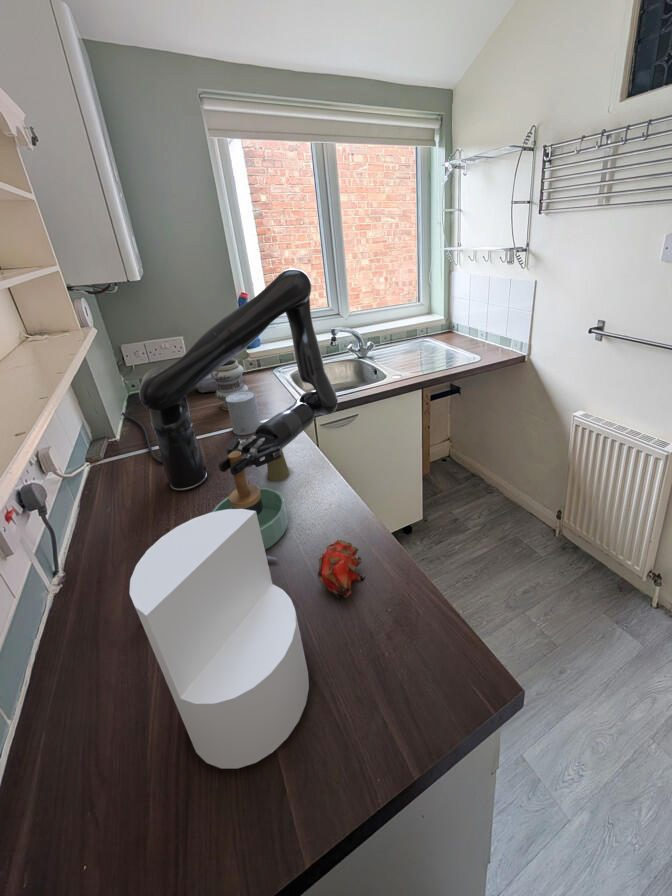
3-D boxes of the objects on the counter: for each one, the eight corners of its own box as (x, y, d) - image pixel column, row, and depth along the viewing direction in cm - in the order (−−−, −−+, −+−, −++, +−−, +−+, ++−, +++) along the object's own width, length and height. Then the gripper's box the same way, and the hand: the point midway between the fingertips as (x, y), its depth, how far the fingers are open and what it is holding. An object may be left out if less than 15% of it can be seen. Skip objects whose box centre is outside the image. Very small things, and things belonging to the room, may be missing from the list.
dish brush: (227, 516, 90) (211, 459, 84) (248, 498, 95) (234, 443, 89) (249, 523, 87) (234, 465, 81) (269, 504, 92) (257, 449, 87)
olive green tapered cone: (284, 481, 110) (277, 447, 106) (263, 480, 111) (256, 446, 107) (292, 469, 116) (287, 435, 111) (273, 467, 117) (267, 434, 113)
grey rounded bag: (243, 377, 187) (197, 384, 182) (240, 360, 184) (193, 367, 179) (243, 389, 174) (194, 397, 169) (239, 371, 171) (189, 379, 166)
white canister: (227, 432, 138) (219, 400, 133) (245, 420, 146) (238, 389, 142) (249, 436, 135) (242, 403, 130) (267, 423, 143) (260, 392, 138)
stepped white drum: (161, 733, 57) (94, 590, 46) (246, 626, 71) (210, 497, 60) (258, 796, 50) (206, 645, 39) (330, 663, 64) (306, 526, 54)
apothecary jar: (221, 414, 152) (211, 370, 145) (216, 403, 161) (206, 361, 154) (254, 406, 157) (245, 362, 150) (246, 396, 167) (238, 355, 160)
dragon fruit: (343, 560, 85) (350, 616, 75) (307, 551, 82) (310, 608, 72) (364, 534, 83) (375, 589, 73) (329, 524, 79) (334, 579, 69)
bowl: (199, 544, 90) (193, 523, 88) (251, 500, 103) (246, 481, 101) (254, 567, 83) (249, 545, 81) (302, 517, 96) (298, 497, 94)
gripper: (255, 412, 99) (198, 448, 85) (301, 421, 93) (247, 461, 79) (261, 439, 102) (206, 477, 88) (305, 449, 96) (255, 492, 82)
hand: (226, 469), depth 84 cm, fingers closed on dish brush, 2 cm apart
